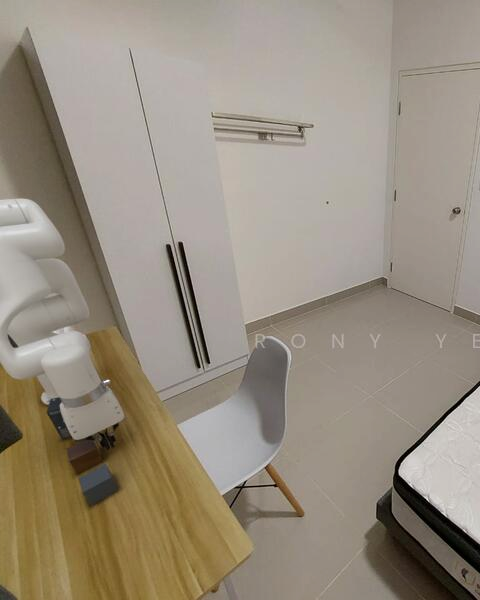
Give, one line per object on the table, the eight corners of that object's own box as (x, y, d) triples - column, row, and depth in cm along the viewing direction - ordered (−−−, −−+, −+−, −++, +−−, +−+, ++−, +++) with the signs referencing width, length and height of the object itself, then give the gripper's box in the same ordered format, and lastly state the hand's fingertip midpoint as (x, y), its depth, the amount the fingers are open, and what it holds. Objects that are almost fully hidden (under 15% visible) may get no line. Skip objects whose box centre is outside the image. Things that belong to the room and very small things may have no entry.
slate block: (86, 491, 77) (78, 477, 75) (112, 476, 81) (105, 463, 78) (91, 505, 74) (82, 492, 72) (118, 490, 78) (111, 477, 76)
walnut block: (74, 461, 83) (66, 448, 81) (99, 449, 87) (92, 436, 84) (77, 474, 81) (68, 461, 78) (103, 461, 84) (95, 448, 82)
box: (62, 440, 88) (45, 412, 84) (66, 425, 92) (50, 398, 88) (99, 428, 92) (85, 401, 88) (102, 415, 97) (88, 388, 92)
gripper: (118, 371, 85) (139, 422, 93) (37, 402, 75) (69, 455, 83) (126, 385, 81) (148, 436, 89) (41, 419, 71) (75, 474, 79)
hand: (110, 445), depth 86 cm, fingers closed
